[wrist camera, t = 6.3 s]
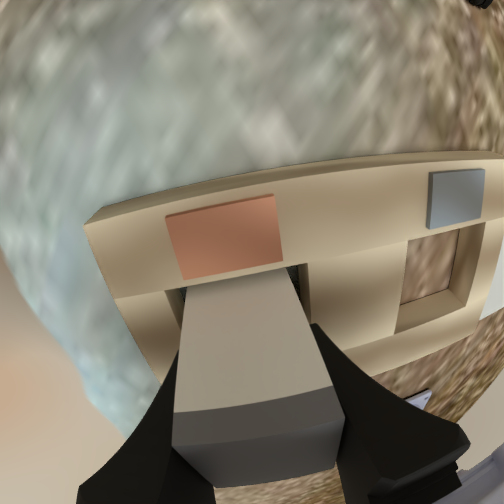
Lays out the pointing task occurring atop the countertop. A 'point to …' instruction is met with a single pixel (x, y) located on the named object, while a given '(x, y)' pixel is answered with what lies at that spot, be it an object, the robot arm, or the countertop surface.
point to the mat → (496, 288)
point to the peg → (252, 384)
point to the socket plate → (313, 248)
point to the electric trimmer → (481, 3)
